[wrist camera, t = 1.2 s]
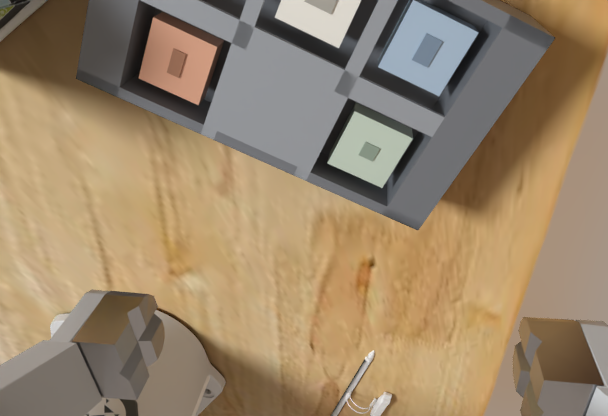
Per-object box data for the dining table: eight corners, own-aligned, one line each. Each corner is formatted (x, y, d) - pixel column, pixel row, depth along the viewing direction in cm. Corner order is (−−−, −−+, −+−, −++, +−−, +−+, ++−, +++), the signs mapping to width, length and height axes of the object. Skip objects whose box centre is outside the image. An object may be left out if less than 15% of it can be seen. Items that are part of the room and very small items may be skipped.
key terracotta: (205, 96, 33) (197, 105, 32) (147, 70, 33) (137, 78, 31) (223, 40, 31) (216, 47, 29) (162, 11, 30) (152, 17, 29)
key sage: (382, 177, 34) (382, 188, 33) (329, 153, 34) (327, 164, 33) (411, 128, 32) (413, 139, 31) (355, 102, 32) (354, 111, 30)
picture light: (370, 346, 49) (370, 363, 47) (412, 359, 49) (413, 377, 47) (323, 424, 56) (321, 442, 54) (359, 435, 57) (359, 453, 55)
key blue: (436, 87, 31) (439, 96, 29) (378, 59, 30) (377, 67, 29) (474, 26, 28) (479, 33, 27) (412, -6, 28) (413, 0, 27)
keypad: (414, 190, 38) (417, 230, 34) (114, 54, 36) (75, 78, 31) (530, 16, 31) (555, 37, 26) (161, -174, 28) (119, -185, 24)
